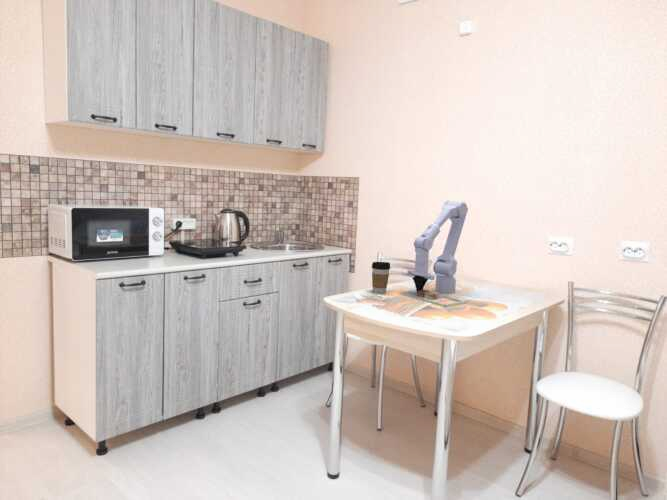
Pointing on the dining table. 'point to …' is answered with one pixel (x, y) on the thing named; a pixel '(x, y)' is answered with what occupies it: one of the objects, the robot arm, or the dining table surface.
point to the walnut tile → (422, 293)
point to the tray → (446, 304)
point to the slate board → (414, 295)
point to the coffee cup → (380, 276)
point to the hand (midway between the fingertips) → (419, 292)
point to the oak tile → (431, 295)
